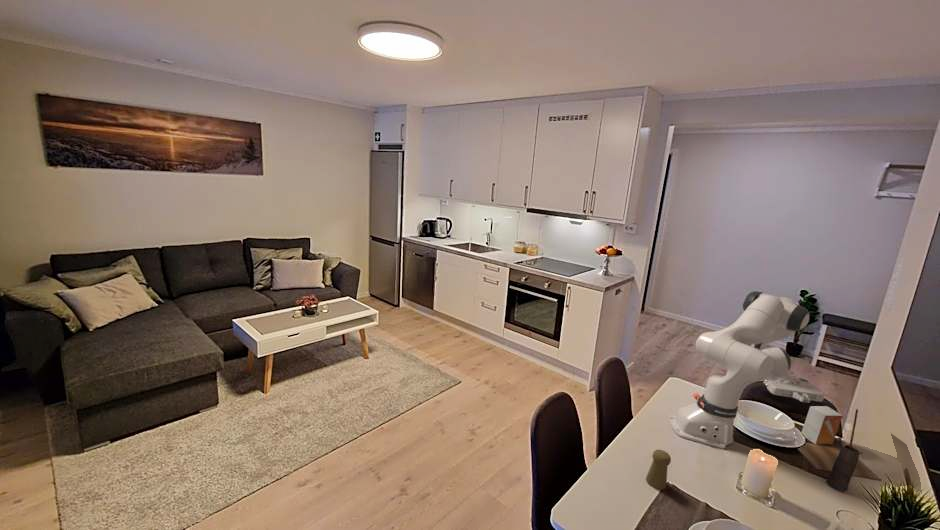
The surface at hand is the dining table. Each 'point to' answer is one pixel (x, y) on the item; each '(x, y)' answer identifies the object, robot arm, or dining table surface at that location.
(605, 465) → the dining table surface
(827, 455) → the walnut mat
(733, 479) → the dining table surface
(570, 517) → the dining table surface
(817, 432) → the small box
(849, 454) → the butter churn
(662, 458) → the olive pepper mill
